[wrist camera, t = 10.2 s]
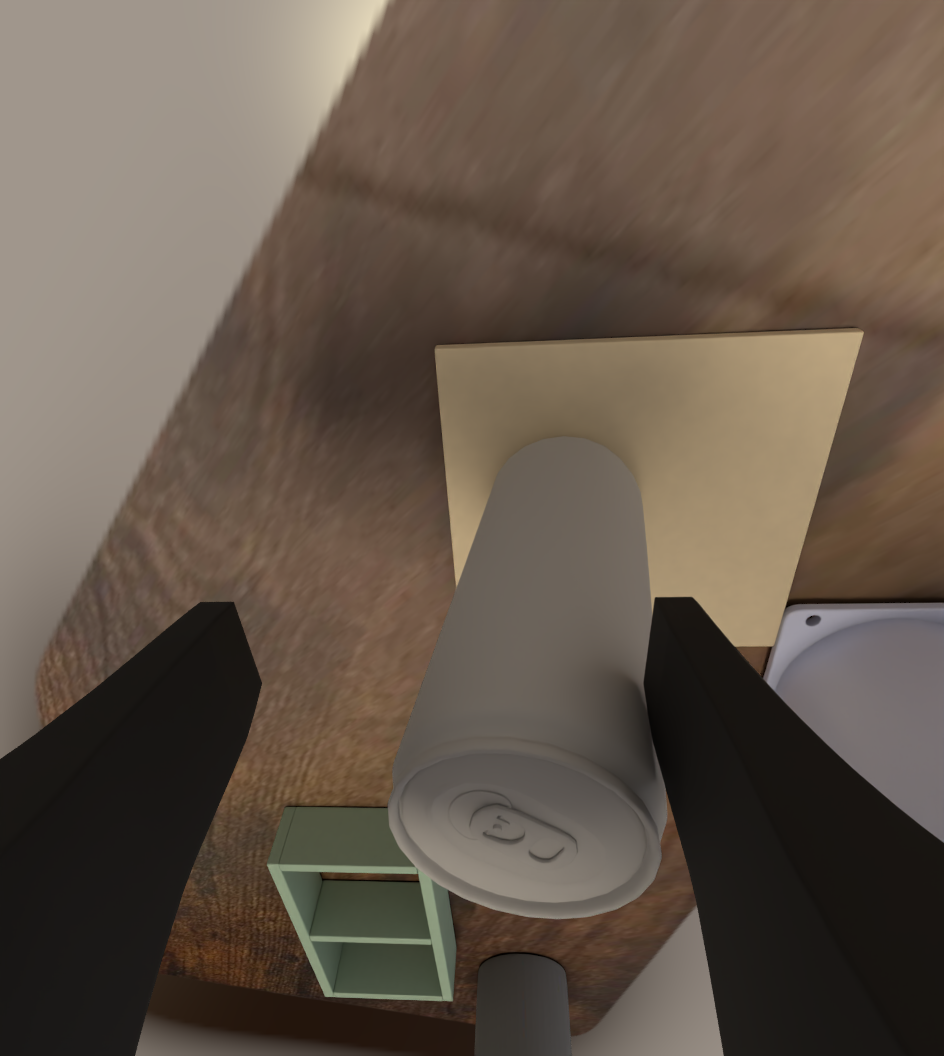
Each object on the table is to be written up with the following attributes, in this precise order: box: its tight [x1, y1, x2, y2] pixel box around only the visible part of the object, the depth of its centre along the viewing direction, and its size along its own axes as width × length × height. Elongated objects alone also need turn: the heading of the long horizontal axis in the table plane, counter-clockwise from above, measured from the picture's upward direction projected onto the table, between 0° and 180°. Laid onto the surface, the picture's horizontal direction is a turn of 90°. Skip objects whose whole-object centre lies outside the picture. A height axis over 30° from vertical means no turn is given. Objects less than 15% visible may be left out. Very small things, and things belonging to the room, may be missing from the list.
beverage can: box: [388, 436, 667, 919], centre depth 15 cm, size 5×5×12 cm
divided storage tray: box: [267, 807, 456, 1001], centre depth 35 cm, size 8×15×3 cm, turn 3°
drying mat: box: [434, 328, 864, 647], centre depth 21 cm, size 12×12×1 cm
